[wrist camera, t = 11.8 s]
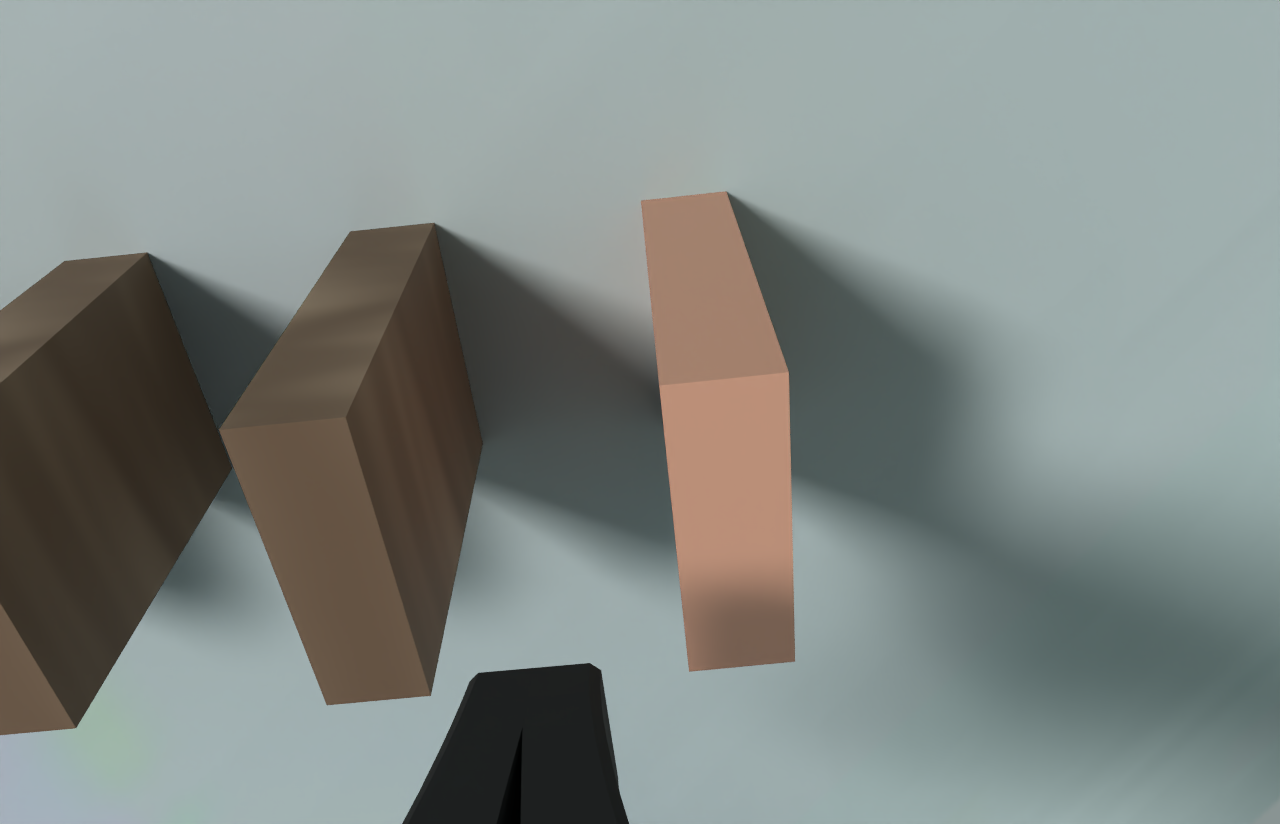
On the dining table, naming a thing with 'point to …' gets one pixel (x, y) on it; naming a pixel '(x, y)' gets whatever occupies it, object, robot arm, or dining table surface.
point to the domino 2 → (364, 464)
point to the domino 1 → (91, 478)
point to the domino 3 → (722, 434)
